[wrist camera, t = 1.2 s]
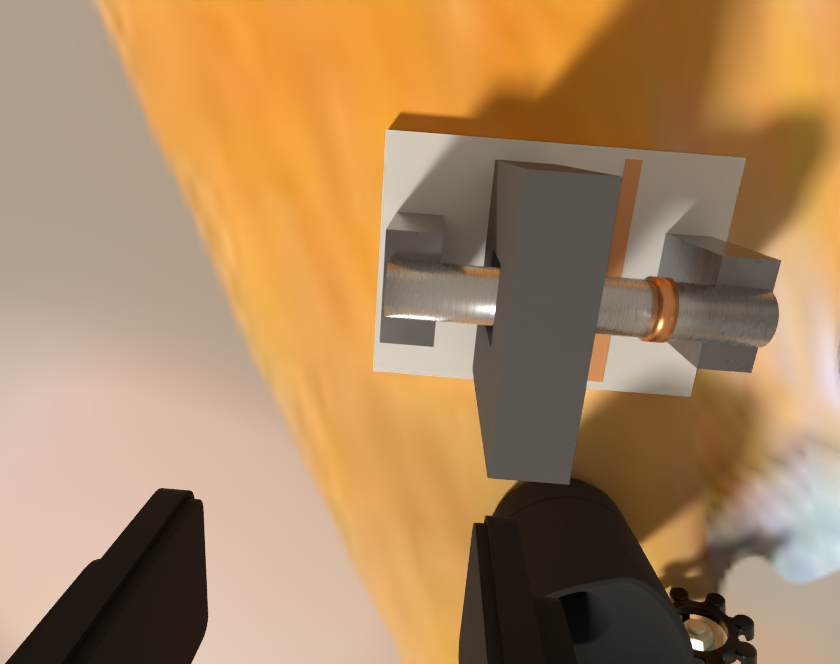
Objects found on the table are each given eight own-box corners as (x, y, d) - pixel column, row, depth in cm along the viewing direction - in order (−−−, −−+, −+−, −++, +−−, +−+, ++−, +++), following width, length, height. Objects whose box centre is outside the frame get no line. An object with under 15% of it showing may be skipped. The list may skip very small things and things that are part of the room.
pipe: (712, 236, 31) (800, 267, 23) (691, 328, 32) (768, 385, 25) (396, 211, 31) (382, 234, 23) (391, 304, 32) (376, 353, 25)
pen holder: (506, 609, 40) (527, 756, 30) (459, 494, 37) (466, 615, 27) (645, 571, 38) (712, 712, 29) (606, 449, 36) (667, 560, 26)
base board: (736, 157, 30) (747, 157, 29) (683, 390, 34) (691, 397, 33) (387, 130, 30) (385, 129, 29) (374, 364, 34) (372, 371, 33)
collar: (556, 164, 29) (622, 176, 18) (527, 373, 32) (569, 484, 22) (495, 159, 29) (526, 169, 18) (472, 368, 32) (487, 477, 22)
